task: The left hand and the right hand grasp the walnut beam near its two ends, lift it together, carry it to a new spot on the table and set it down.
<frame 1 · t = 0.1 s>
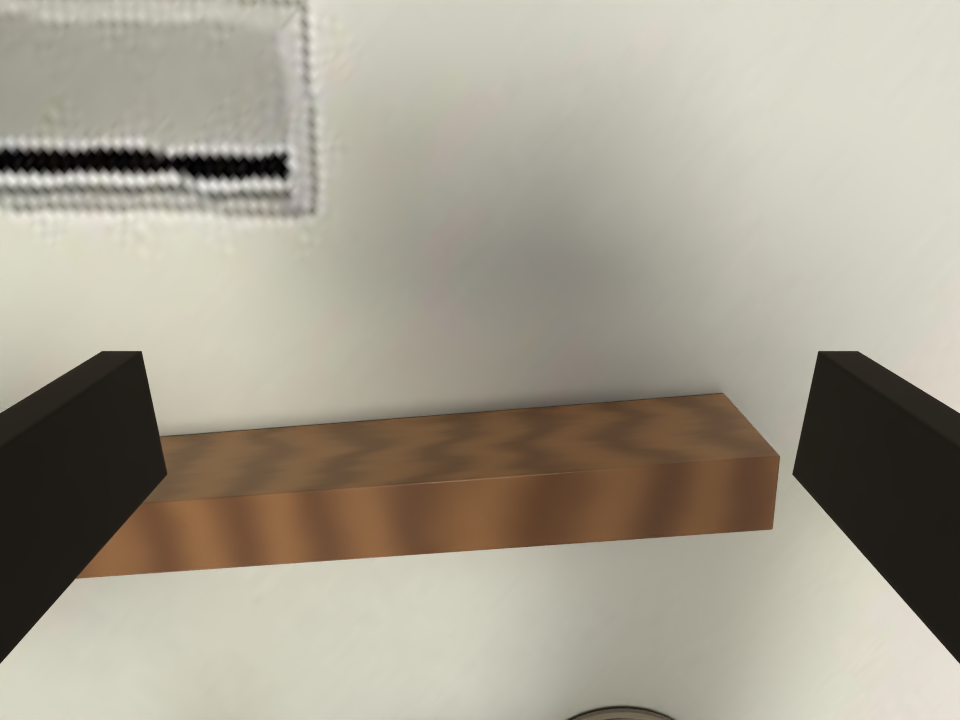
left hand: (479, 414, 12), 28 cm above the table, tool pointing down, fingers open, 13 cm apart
beam: (369, 451, 44), on the table
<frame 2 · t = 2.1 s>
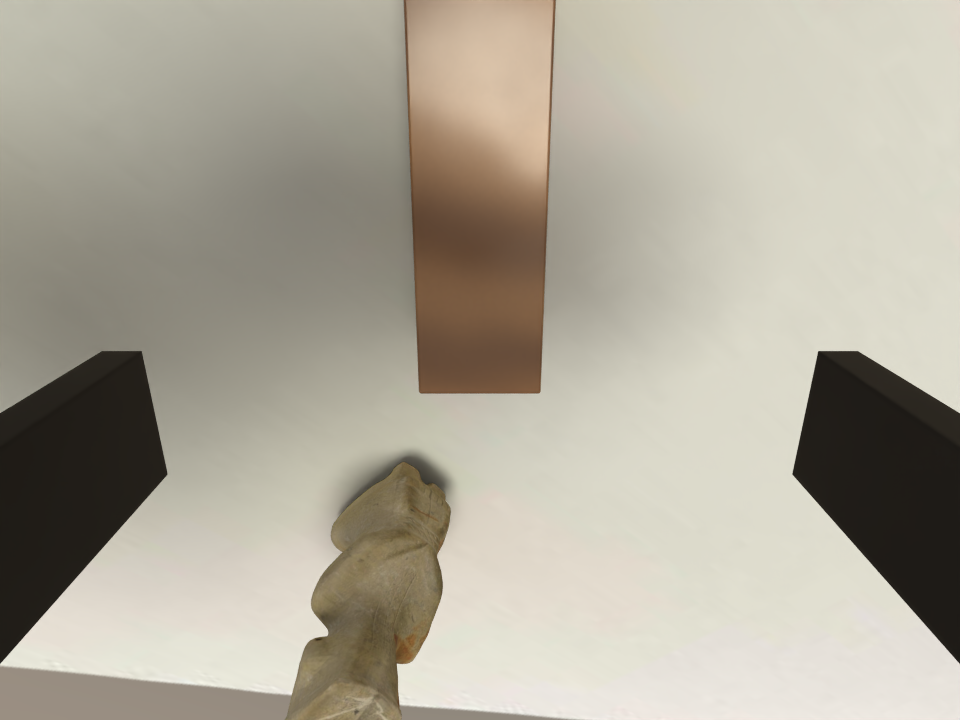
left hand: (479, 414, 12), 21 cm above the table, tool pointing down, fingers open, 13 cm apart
sculpture: (396, 500, 37), on the table
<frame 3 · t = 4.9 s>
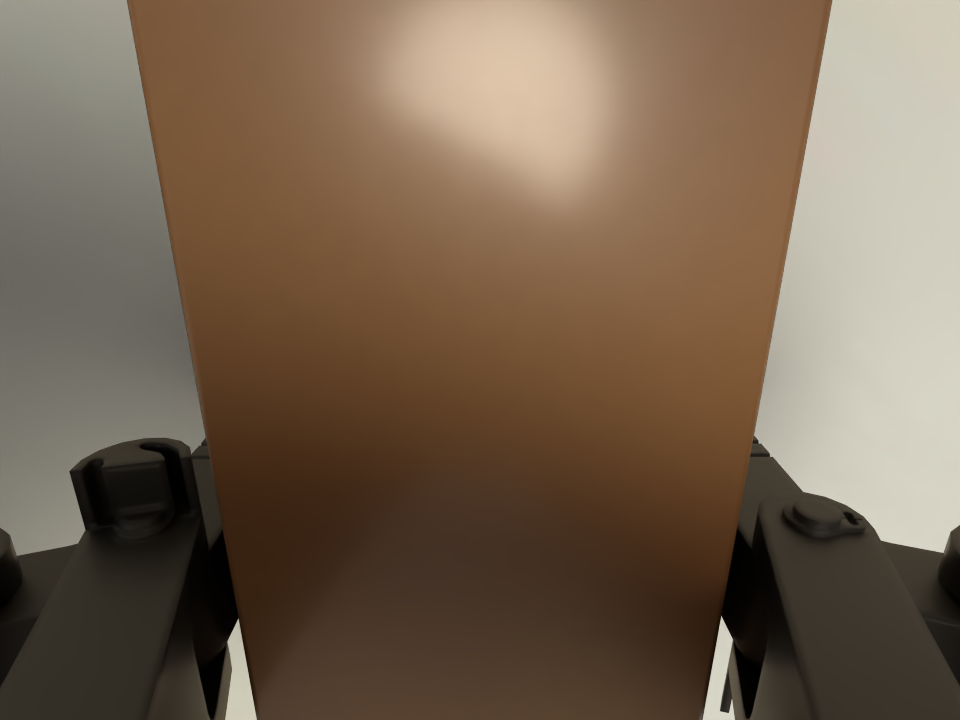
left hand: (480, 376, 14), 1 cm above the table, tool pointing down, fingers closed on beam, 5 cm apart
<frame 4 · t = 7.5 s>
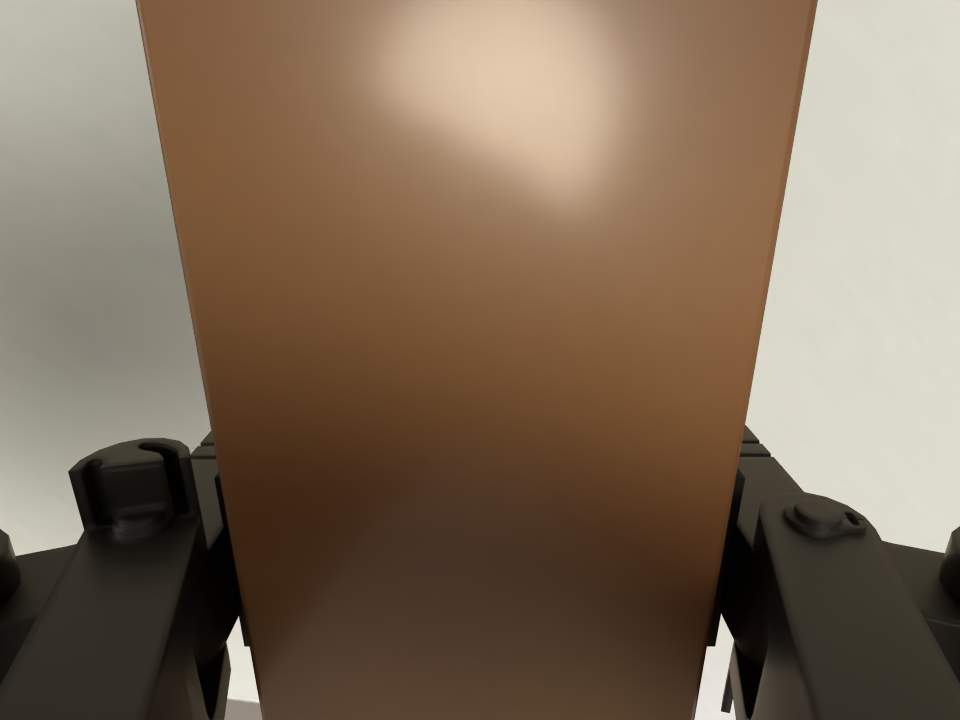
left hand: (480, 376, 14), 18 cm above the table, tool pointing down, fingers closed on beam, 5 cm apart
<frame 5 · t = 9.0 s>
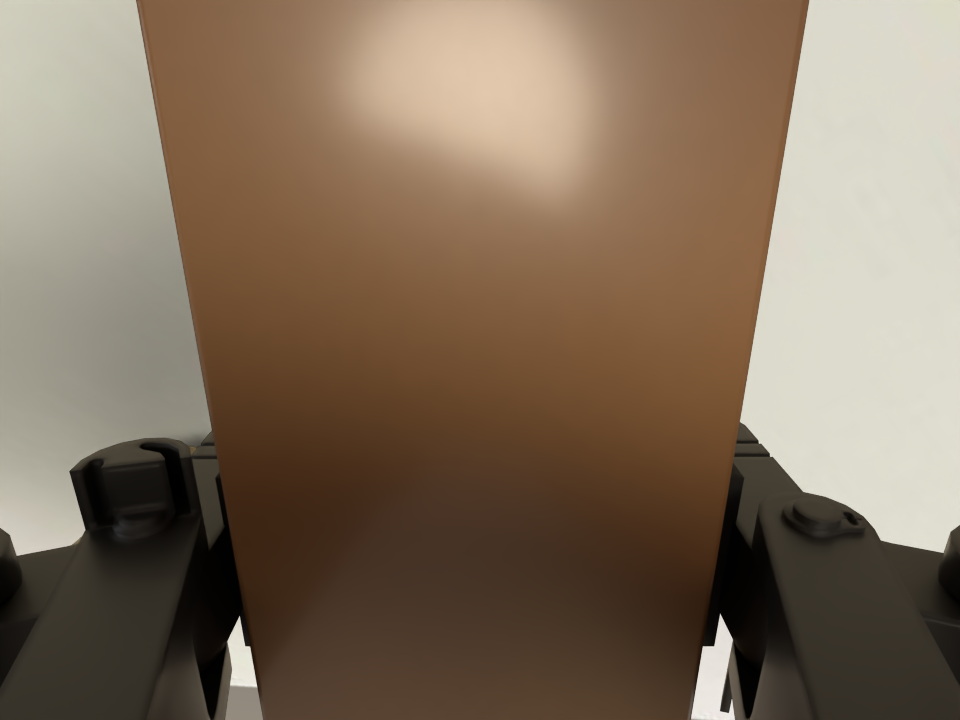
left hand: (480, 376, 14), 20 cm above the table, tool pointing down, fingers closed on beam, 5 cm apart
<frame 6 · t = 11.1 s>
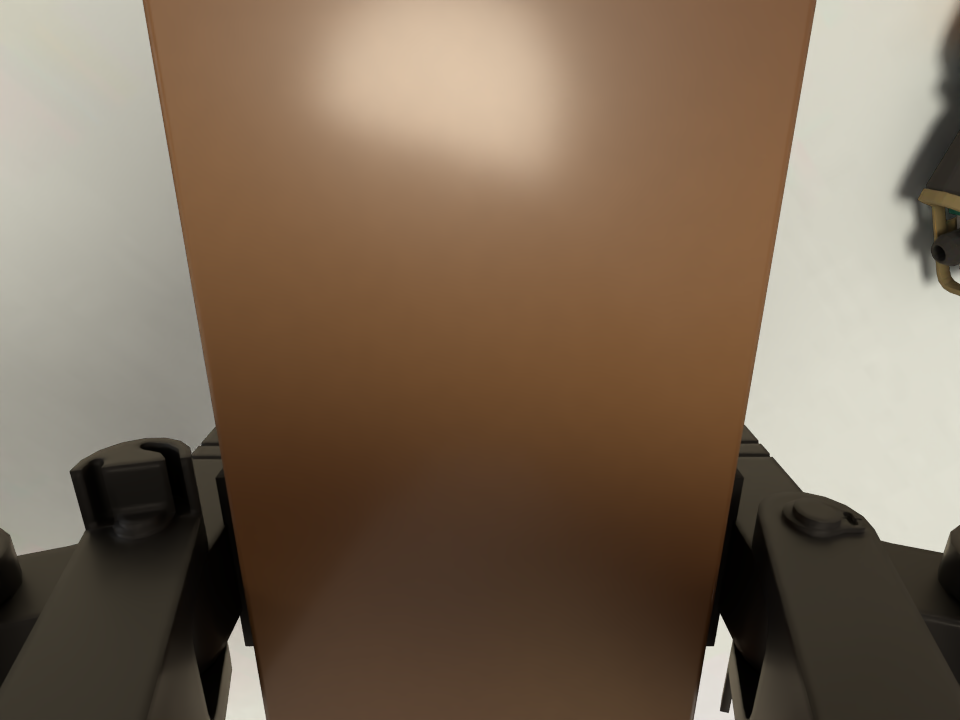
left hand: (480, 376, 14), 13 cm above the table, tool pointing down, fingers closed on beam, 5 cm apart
when the left hand's fingers open (2 cm above the table, at t = 13.0 s): beam stays where it is, on the table.
when the right hand's fingers open (5 cm above the table, at t = 13.2 s): beam stays where it is, on the table.
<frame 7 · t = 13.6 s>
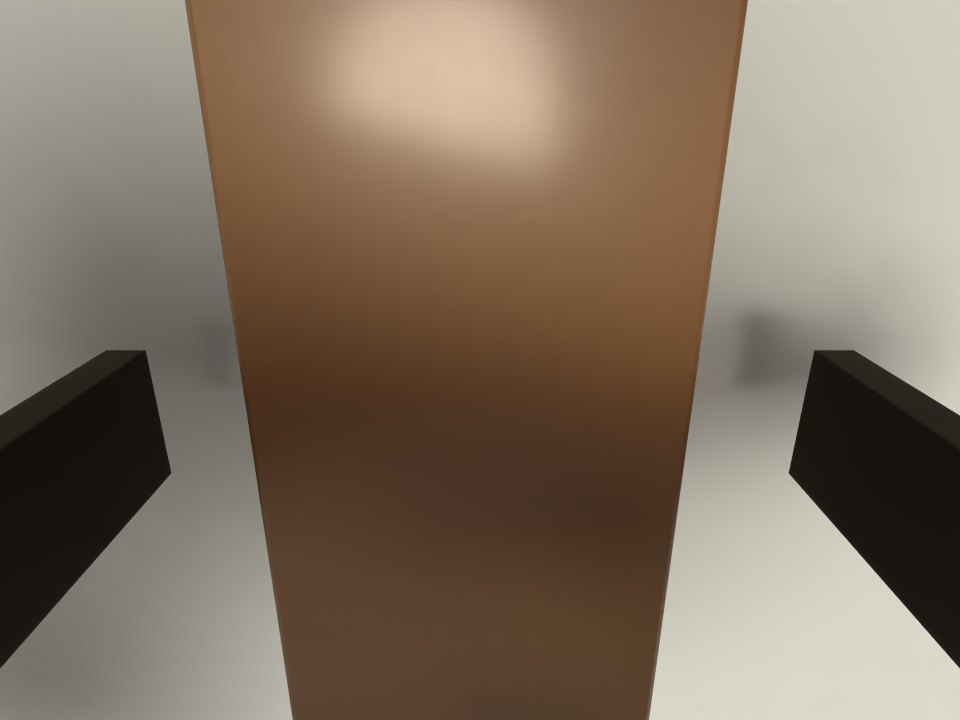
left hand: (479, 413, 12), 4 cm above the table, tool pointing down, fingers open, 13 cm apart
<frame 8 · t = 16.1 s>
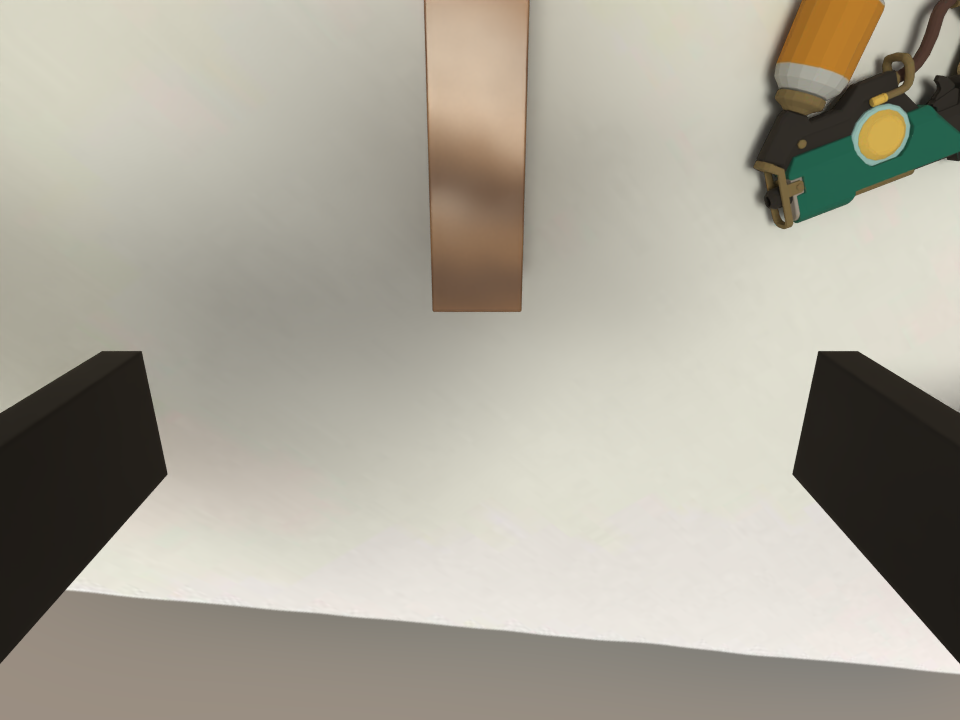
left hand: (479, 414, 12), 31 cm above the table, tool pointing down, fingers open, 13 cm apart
spray gun: (880, 92, 39), on the table
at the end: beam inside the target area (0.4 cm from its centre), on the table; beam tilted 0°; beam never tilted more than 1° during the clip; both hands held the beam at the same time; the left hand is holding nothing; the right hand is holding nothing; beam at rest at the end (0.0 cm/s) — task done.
